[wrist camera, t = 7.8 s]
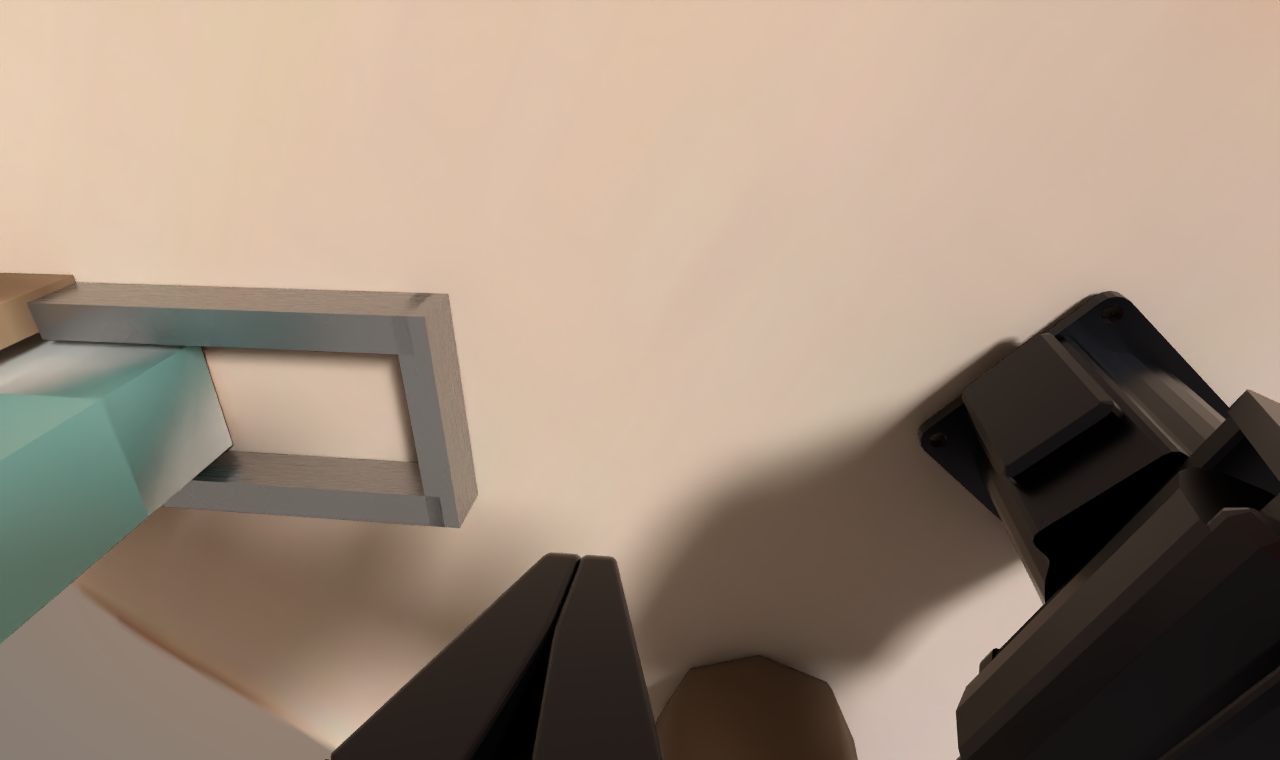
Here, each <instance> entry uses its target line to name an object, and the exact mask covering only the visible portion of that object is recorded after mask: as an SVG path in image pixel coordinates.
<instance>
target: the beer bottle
mask: <svg viewBox="0 0 1280 760" xmlns="http://www.w3.org/2000/svg"><path fill="white" fill-rule="evenodd" d="M656 729H657V733H658V738H659V742H660V746H661V750H662V754H663V759H664V760H858V758H857V754H856V749H855V744H854V740H853V737H852V735H851V733H850V730H849V728H848V726H847V723H846V721H845V719H844V716H843V714H842V712H841V709H840V707H839V705H838V702H837V700H836V698H835V696H834V693H833V691H832V689H831V687H830V686H829V685H828V684H827V682H825V681H822V680H820V679H817V678H815V677H812V676H810V675H807V674H804V673H802V672H799V671H797V670H794V669H792V668H789V667H787V666H784V665H782V664H779V663H777V662H774V661H772V660H769V659H767V658H764V657H762V656H755V657H750V658H745V659H740V660H735V661H729V662H724V663H719V664H714V665H709V666H703V667H698V668H693V669H690V670H689V672H688V673H687V674H686V676H685V677H684V679H683V680H682V682H681V684H680V685H679V687H678V688H677V690H676V691H675V693H674V694H673V696H672V697H671V699H670V700H669V702H668V703H667V705H666V707H665V708H664V710H663V711H662V713H661V714H660V716H659V717H658V719H657V723H656Z"/></svg>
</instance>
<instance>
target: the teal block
mask: <svg viewBox="0 0 1280 760" xmlns="http://www.w3.org/2000/svg"><path fill="white" fill-rule="evenodd" d="M231 445H233V444H232V441H231V438H230V435H229V432H228V429H227V426H226V423H225V420H224V416H223V413H222V410H221V407H220V404H219V401H218V398H217V395H216V392H215V389H214V386H213V383H212V380H211V377H210V373H209V370H208V367H207V364H206V361H205V358H204V355H203V352H202V349H201V346H186V345H162V344H139V343H115V342H91V341H68V340H44V339H42V337H41V335H40V333H36V334H34V335H32V336H29V337H27V338H25V339H23V340H21V341H19V342H17V343H14V344H12V345H10V346H8V347H6V348H4V349H2V350H0V644H1V643H2V642H3V641H4V640H5V639H7V638H8V637H9V636H10V635H11V634H12V633H14V632H15V631H16V630H17V629H18V628H19V627H20V626H22V625H23V624H24V623H25V622H26V621H27V620H29V619H30V618H31V617H32V616H33V615H34V614H35V613H37V612H38V611H39V610H40V609H41V608H43V607H44V606H45V605H46V604H47V603H48V602H50V601H51V600H52V599H53V598H54V597H55V596H57V595H58V594H59V593H60V592H61V591H62V590H64V589H65V588H66V587H67V586H68V585H69V584H71V583H72V582H73V581H74V580H75V579H76V578H78V577H79V576H80V575H81V574H82V573H83V572H85V571H86V570H87V569H88V568H89V567H90V566H92V565H93V564H94V563H95V562H96V561H97V560H99V559H100V558H101V557H102V556H103V555H104V554H106V553H107V552H108V551H109V550H110V549H111V548H113V547H114V546H115V545H116V544H117V543H118V542H120V541H121V540H122V539H123V538H124V537H125V536H127V535H128V534H129V533H130V532H131V531H132V530H134V529H135V528H136V527H137V526H138V525H139V524H141V523H142V522H143V521H144V520H145V519H146V518H148V517H149V516H150V515H151V514H152V513H153V512H155V511H156V510H157V509H158V508H159V507H160V506H162V505H163V504H164V503H165V502H166V501H167V500H169V499H170V498H171V497H172V496H173V495H174V494H176V493H177V492H178V491H179V490H180V489H181V488H183V487H184V486H185V485H186V484H187V483H188V482H190V481H191V480H192V479H193V478H194V477H195V476H197V475H198V474H199V473H200V472H201V471H202V470H203V469H205V468H206V467H207V466H208V465H209V464H210V463H212V462H213V461H214V460H215V459H216V458H217V457H219V456H220V455H221V454H222V453H223V452H224V451H226V450H227V449H228V448H229V447H230V446H231Z"/></svg>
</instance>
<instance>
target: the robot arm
mask: <svg viewBox="0 0 1280 760" xmlns="http://www.w3.org/2000/svg"><path fill="white" fill-rule="evenodd" d="M1114 305H1116V306H1117V308H1116V311H1115V312H1114V313H1113V314H1112V315H1111V316H1109V317H1107V318H1102V313H1103V311H1104V310H1105V309H1106V308H1108V307H1110V306H1114ZM935 433H943V434H944V435H943V437H942V438H941V439H939V440H930V439H929V438H930V437H931V436H932V435H933V434H935ZM918 439H919V442H920V444H921V446H922V448H923V449H924V451H926V452H927V453H928V454H929V455H930V456H931V457H932V458H933V459H934V460H935V461H937V462H938V463H939V464H940V465H941V466H942V467H943V468H944V469H945V470H946V471H947V472H949V473H950V474H951V475H952V476H953V477H954V478H955V479H956V480H957V481H958V482H959V483H961V484H962V485H963V486H964V487H965V488H966V489H967V490H968V491H969V492H970V493H972V494H973V495H974V496H975V497H976V498H977V499H978V500H979V501H980V502H981V503H982V504H984V505H985V506H986V507H987V508H988V509H989V510H990V511H991V512H992V513H993V514H995V515H996V516H997V517H998V518H999V519H1000V520H1001V521H1002V522H1003V524H1004V526H1005V528H1006V530H1007V532H1008V534H1009V536H1010V538H1011V540H1012V542H1013V544H1014V546H1015V548H1016V550H1017V552H1018V554H1019V556H1020V558H1021V560H1022V562H1023V564H1024V566H1025V568H1026V570H1027V572H1028V575H1029V577H1030V579H1031V581H1032V583H1033V585H1034V587H1035V589H1036V591H1037V593H1038V595H1039V597H1040V599H1041V601H1042V603H1043V606H1042V607H1041V608H1040V609H1039V610H1038V611H1037V612H1036V613H1035V614H1034V615H1033V616H1032V617H1031V618H1030V619H1029V620H1028V621H1027V622H1026V623H1025V624H1024V625H1023V626H1022V627H1021V628H1020V629H1019V630H1018V631H1017V632H1016V633H1015V634H1014V635H1013V636H1012V637H1011V638H1010V639H1009V640H1008V641H1007V642H1006V643H1005V644H1004V645H1003V646H1002V647H1001V648H1000V649H997V648H995V649H993V650H992V651H991V652H990V653H989V654H988V655H987V656H986V657H985V658H984V659H983V660H982V661H981V663H980V668H979V674H978V675H977V676H976V677H975V678H974V679H973V680H972V681H971V682H970V683H969V684H968V685H967V686H966V689H965V691H964V693H963V696H962V698H961V700H960V703H959V705H958V707H957V710H956V720H957V734H958V749H959V752H960V756H959V757H958V758H957V759H956V760H1280V403H1277V402H1275V401H1273V400H1271V399H1269V398H1267V397H1264V396H1262V395H1260V394H1258V393H1256V392H1253V391H1251V390H1246V391H1245V392H1244V393H1243V394H1242V395H1241V396H1240V397H1239V398H1238V399H1237V400H1236V402H1235V403H1234V404H1233V405H1232V406H1231V407H1230V408H1229V407H1228V406H1227V405H1226V404H1225V403H1224V402H1223V401H1222V400H1221V399H1220V397H1219V396H1218V395H1217V394H1216V393H1215V392H1214V391H1213V390H1212V389H1211V388H1210V387H1209V386H1208V385H1207V383H1206V382H1205V381H1204V380H1203V379H1202V378H1201V377H1200V376H1199V375H1198V374H1197V373H1196V372H1195V370H1194V369H1193V368H1192V367H1191V366H1190V365H1189V364H1188V363H1187V362H1186V361H1185V360H1184V359H1183V358H1182V356H1181V355H1180V354H1179V353H1178V352H1177V351H1176V350H1175V349H1174V348H1173V347H1172V346H1171V345H1170V343H1169V342H1168V341H1167V340H1166V339H1165V338H1164V337H1163V336H1162V335H1161V334H1160V333H1159V332H1158V331H1157V329H1156V328H1155V327H1154V326H1153V325H1152V324H1151V323H1150V322H1149V321H1148V320H1147V319H1146V318H1145V317H1144V315H1143V314H1142V313H1141V312H1140V311H1139V310H1138V309H1137V308H1136V307H1135V306H1134V305H1133V304H1132V302H1131V301H1129V300H1128V299H1127V298H1125V297H1124V296H1123V295H1121V294H1120V293H1118V292H1113V291H1107V292H1102V293H1100V294H1098V295H1096V296H1094V297H1093V298H1092V299H1090V300H1089V301H1088V302H1086V303H1085V304H1084V305H1082V306H1081V307H1080V308H1078V309H1077V310H1075V311H1074V312H1073V313H1071V314H1070V315H1069V316H1067V317H1066V318H1065V319H1063V320H1062V321H1061V322H1059V323H1058V324H1057V325H1055V326H1054V327H1053V328H1051V329H1050V330H1049V331H1047V332H1046V333H1043V334H1037V335H1036V336H1034V337H1033V338H1032V339H1030V340H1029V341H1028V342H1026V343H1025V344H1023V345H1022V346H1021V347H1019V348H1018V349H1017V350H1015V351H1014V352H1013V353H1011V354H1010V355H1009V356H1007V357H1006V358H1005V359H1003V360H1002V361H1001V362H999V363H998V364H997V365H995V366H994V367H993V368H991V369H990V370H989V371H987V372H986V373H985V374H983V375H982V376H980V377H979V378H978V379H976V380H975V381H974V382H972V383H971V384H970V385H968V386H967V387H966V388H965V389H964V391H963V394H962V395H961V396H959V397H958V398H957V399H955V400H954V401H953V402H951V403H950V404H949V405H947V406H946V407H945V408H943V409H942V410H941V411H939V412H938V413H937V414H935V415H934V416H932V417H931V418H930V419H928V420H927V421H926V422H924V423H923V424H922V425H921V426H920V428H919V430H918ZM325 760H328V759H325ZM331 760H664V759H663V754H662V750H661V746H660V742H659V738H658V733H657V729H656V725H655V721H654V716H653V712H652V708H651V704H650V700H649V695H648V691H647V687H646V683H645V679H644V674H643V670H642V666H641V662H640V658H639V653H638V649H637V645H636V641H635V636H634V632H633V628H632V624H631V620H630V615H629V611H628V607H627V603H626V599H625V594H624V590H623V586H622V582H621V577H620V573H619V569H618V565H617V561H616V560H615V558H613V557H610V556H595V555H586V556H584V557H582V559H581V557H580V556H578V555H577V554H567V553H548V554H546V555H545V556H543V557H542V558H541V559H540V560H539V561H538V562H537V563H536V564H535V565H534V566H532V567H531V568H530V569H529V570H528V571H527V572H526V573H525V574H524V575H523V576H522V577H521V578H520V579H519V580H517V581H516V582H515V583H514V584H513V585H512V586H511V587H510V588H509V589H508V590H507V591H506V592H505V593H503V594H502V595H501V596H500V597H499V598H498V599H497V600H496V601H495V602H494V603H493V604H492V605H491V606H489V607H488V608H487V609H486V610H485V611H484V612H483V613H482V614H481V615H480V616H479V617H478V618H477V619H475V620H474V621H473V622H472V623H471V624H470V625H469V626H468V627H467V628H466V629H465V630H464V631H463V632H461V633H460V634H459V635H458V636H457V637H456V638H455V639H454V640H453V641H452V642H451V643H450V644H449V645H447V646H446V647H445V648H444V649H443V650H442V651H441V652H440V653H439V654H438V655H437V656H436V657H435V658H434V659H432V660H431V661H430V662H429V663H428V664H427V665H426V666H425V667H424V668H423V669H422V670H421V671H420V672H418V673H417V674H416V675H415V676H414V677H413V678H412V679H411V680H410V681H409V682H408V683H407V684H406V685H404V686H403V687H402V688H401V689H400V690H399V691H398V692H397V693H396V694H395V695H394V696H393V697H392V698H390V699H389V700H388V701H387V702H386V703H385V704H384V705H383V706H382V707H381V708H380V709H379V710H378V711H376V712H375V713H374V714H373V715H372V716H371V717H370V718H369V719H368V720H367V721H366V722H365V723H364V724H363V725H361V726H360V727H359V728H358V729H357V730H356V731H355V732H354V733H353V734H352V735H351V736H350V737H349V738H347V739H346V740H345V741H344V742H343V743H342V744H341V745H340V746H339V747H338V748H337V749H336V750H335V751H333V752H332V754H331Z"/></svg>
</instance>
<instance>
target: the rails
mask: <svg viewBox="0 0 1280 760" xmlns="http://www.w3.org/2000/svg"><path fill="white" fill-rule="evenodd" d="M27 305H28V307H29V310H30V312H31V314H32V316H33V319H34V321H35V323H36V326H37V328H38V330H39V333H40V335H41V337H42V339H44V340H68V341H91V342H115V343H139V344H162V345H186V346H210V347H233V348H257V349H281V350H305V351H328V352H352V353H376V354H398V357H399V363H400V368H401V373H402V379H403V384H404V389H405V394H406V400H407V405H408V410H409V416H410V421H411V426H412V432H413V437H414V442H415V447H416V453H417V458H418V463H414V462H397V461H381V460H365V459H349V458H332V457H316V456H300V455H284V454H267V453H251V452H235V451H224V452H223V453H222V454H221V455H220V456H219V457H217V458H216V459H215V460H214V461H213V462H212V463H210V464H209V465H208V466H207V467H206V468H205V469H203V470H202V471H201V472H200V473H199V474H198V475H197V476H195V477H194V478H193V479H192V480H191V481H190V482H188V483H187V484H186V485H185V486H184V487H183V488H181V489H180V490H179V491H178V492H177V493H176V494H174V495H173V496H172V497H171V498H170V499H169V500H167V501H166V502H165V503H164V504H163V505H162V506H163V507H177V508H191V509H204V510H218V511H232V512H246V513H260V514H273V515H287V516H301V517H315V518H328V519H342V520H356V521H370V522H384V523H397V524H411V525H425V526H439V527H452V528H460V527H461V525H462V523H463V521H464V519H465V517H466V516H467V514H468V512H469V510H470V508H471V507H472V505H473V503H474V501H475V499H476V497H477V496H478V493H477V486H476V479H475V472H474V466H473V459H472V452H471V445H470V439H469V432H468V425H467V418H466V412H465V405H464V398H463V391H462V384H461V378H460V371H459V364H458V357H457V351H456V344H455V337H454V330H453V323H452V317H451V310H450V303H449V296H448V294H430V293H398V292H366V291H334V290H301V289H269V288H237V287H205V286H173V285H140V284H108V283H73V284H71V285H68V286H66V287H64V288H61V289H59V290H56V291H54V292H51V293H49V294H47V295H44V296H42V297H39V298H37V299H35V300H32V301H30V302H27Z"/></svg>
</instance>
